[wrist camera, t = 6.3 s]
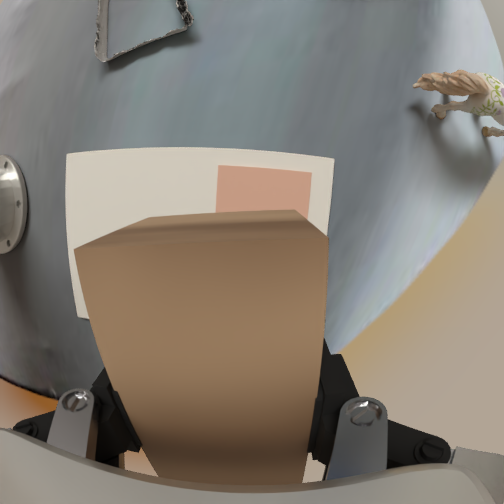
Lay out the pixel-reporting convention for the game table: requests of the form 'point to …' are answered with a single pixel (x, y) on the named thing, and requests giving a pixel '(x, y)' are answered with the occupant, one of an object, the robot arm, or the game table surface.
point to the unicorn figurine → (480, 95)
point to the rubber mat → (186, 189)
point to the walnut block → (213, 339)
